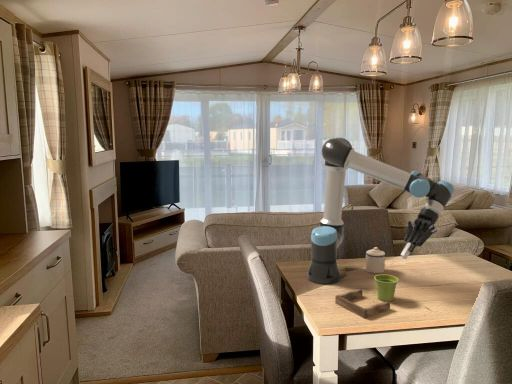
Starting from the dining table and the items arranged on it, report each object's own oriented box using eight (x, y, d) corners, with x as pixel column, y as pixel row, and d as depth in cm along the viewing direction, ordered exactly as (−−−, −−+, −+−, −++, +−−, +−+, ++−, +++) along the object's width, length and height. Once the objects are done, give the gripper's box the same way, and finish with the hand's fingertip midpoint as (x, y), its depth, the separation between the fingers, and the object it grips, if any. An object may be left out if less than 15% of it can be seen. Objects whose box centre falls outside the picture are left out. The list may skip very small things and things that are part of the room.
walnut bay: (360, 295, 165) (360, 288, 165) (389, 309, 152) (390, 301, 152) (335, 303, 158) (335, 295, 158) (364, 318, 145) (364, 310, 145)
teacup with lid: (388, 272, 191) (389, 249, 190) (372, 274, 189) (373, 251, 187) (373, 264, 203) (374, 242, 201) (358, 266, 200) (359, 244, 198)
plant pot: (376, 292, 169) (377, 272, 167) (399, 296, 164) (400, 276, 162) (370, 300, 161) (371, 280, 159) (395, 305, 156) (395, 284, 154)
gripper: (448, 220, 166) (420, 266, 160) (420, 215, 177) (394, 258, 171) (440, 209, 163) (412, 256, 157) (413, 205, 174) (386, 248, 168)
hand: (403, 257), depth 164 cm, fingers closed
